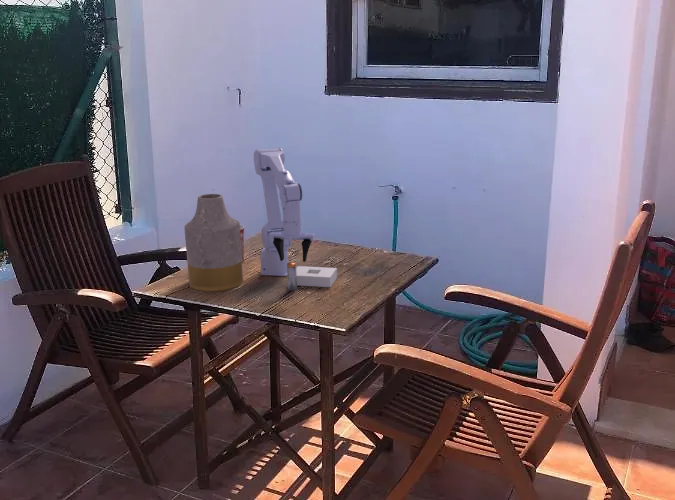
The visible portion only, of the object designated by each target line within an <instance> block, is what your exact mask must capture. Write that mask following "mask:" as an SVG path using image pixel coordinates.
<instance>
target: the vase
mask: <svg viewBox="0 0 675 500" xmlns="http://www.w3.org/2000/svg"><path fill="white" fill-rule="evenodd" d="M196 201H197V202H196V209H195V210H196V211H195V213H194V216H193V217H192V218H191V220H190V221H188V222H186V224H185V225H184V237H185V253H186V262H187V273H188V283H189V284H188V285H189V288H191V289H192V290H195V291H197V292H198V291H199V292H205V293H207V292H208V293H214V292H215V293H216V292H217V293H218V292H224V291H229V290H233V289H235V288H238V287H240V286H242V284H243V283H244V273H243V263H242V254H241V238H240V225H241V224H240V221H239V220H238V219H235V218H234V217H232V216H231V215H230V214H229V212H228V211H227V208H226V205H225V201H224V198H223V195H222V194H220V193H206V194H200V195H198V197H197V200H196Z"/></svg>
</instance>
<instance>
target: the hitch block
mask: <svg viewBox="0 0 675 500" xmlns="http://www.w3.org/2000/svg"><path fill="white" fill-rule="evenodd" d="M296 273H297V286H305V287H320V288H322V287H323V288H331V287H332V286H333V285H334V283H335V282H336V280H337V279H338V268H337V267H322V266H320V267H319V266H305V265H304V266H303V265H302V266H300V265H298V266H296Z"/></svg>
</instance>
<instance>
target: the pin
mask: <svg viewBox="0 0 675 500" xmlns="http://www.w3.org/2000/svg"><path fill="white" fill-rule="evenodd" d="M296 268H297V262H294V261H290V262H289V261H288V263H287V289H288V291H291V292H294V291H297V290H298V285H297V273H296Z"/></svg>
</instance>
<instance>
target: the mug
mask: <svg viewBox="0 0 675 500" xmlns="http://www.w3.org/2000/svg"><path fill="white" fill-rule="evenodd" d="M245 228H246V227H245V226H244V225H243V224H240V238H241V254H242V264H244V262H245Z"/></svg>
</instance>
